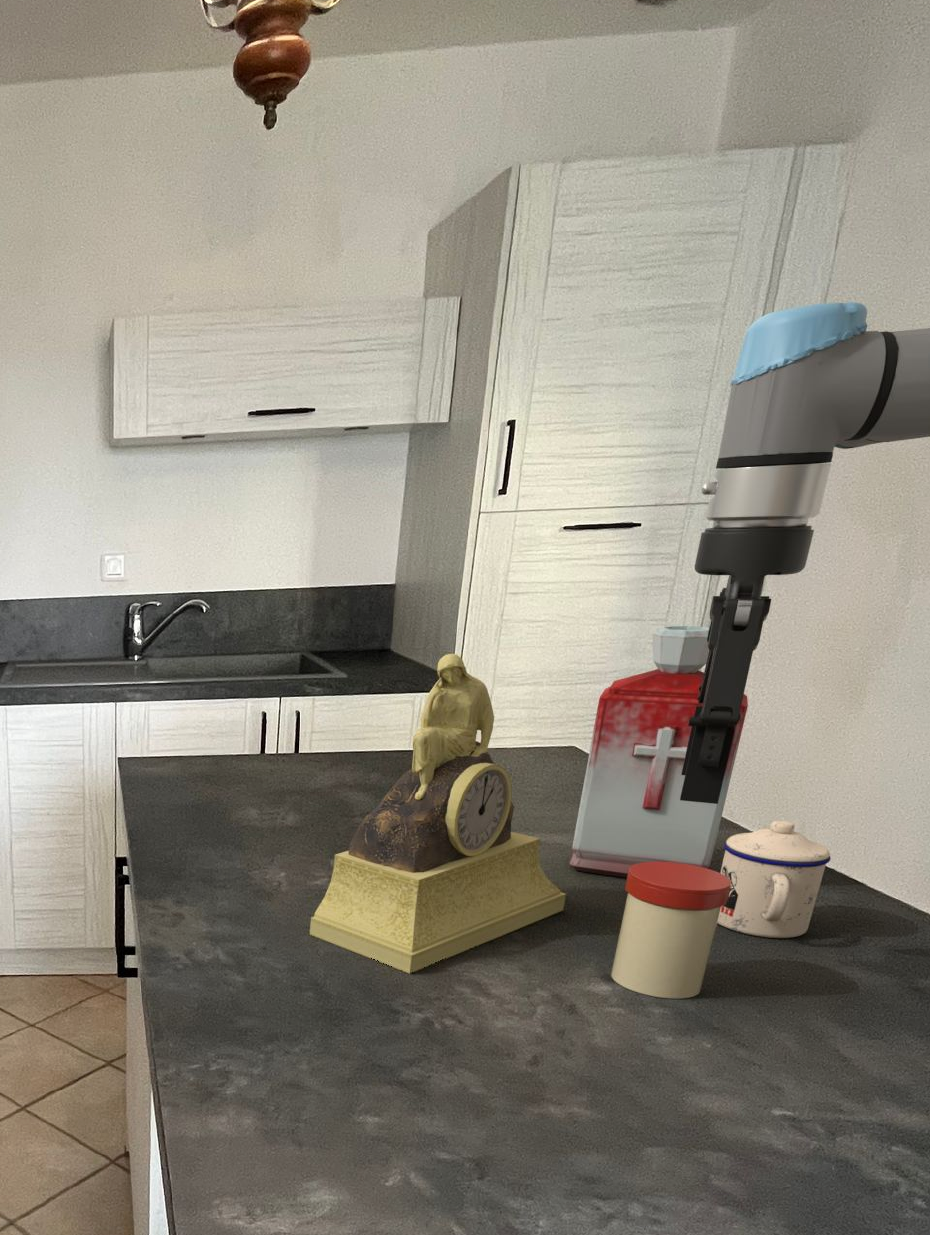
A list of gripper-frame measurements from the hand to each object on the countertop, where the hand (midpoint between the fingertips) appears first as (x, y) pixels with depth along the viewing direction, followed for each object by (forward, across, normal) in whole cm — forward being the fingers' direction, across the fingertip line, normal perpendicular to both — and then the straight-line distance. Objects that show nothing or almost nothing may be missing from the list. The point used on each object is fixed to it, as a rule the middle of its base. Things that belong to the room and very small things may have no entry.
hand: (698, 787), depth 89 cm
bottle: (+20, -35, -3) cm, 40 cm away
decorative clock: (+20, -6, -21) cm, 29 cm away
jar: (+20, 0, 0) cm, 20 cm away
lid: (+9, 0, 0) cm, 9 cm away
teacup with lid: (+20, -20, +9) cm, 30 cm away
